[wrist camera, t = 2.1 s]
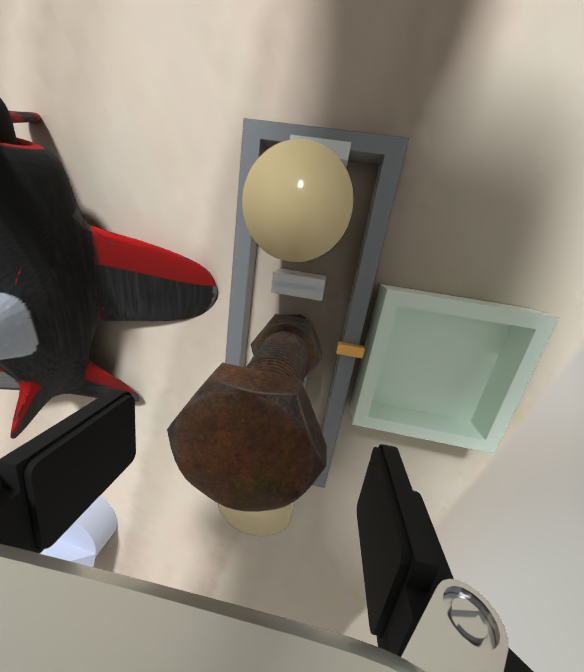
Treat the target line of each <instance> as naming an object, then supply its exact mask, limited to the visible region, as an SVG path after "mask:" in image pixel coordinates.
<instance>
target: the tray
mask: <svg viewBox="0 0 584 672" xmlns="http://www.w3.org/2000/svg"><path fill="white" fill-rule="evenodd" d="M558 319H559V317H556V316H552V315H549V314H546V313H542V312H539V311H536V310H532V309H529V308H524V307H518V306H512V305H506V304H500V303H494V302H488V301H482V300H475V299H469V298H463V297H457V296H451V295H445V294H439V293H433V292H427V291H420V290H414V289H408V288H402V287H396V286H390V285H384V284H380V285H379V289H378V293H377V297H376V301H375V305H374V309H373V313H372V317H371V321H370V325H369V329H368V333H367V337H366V341H365V345H364V347H365V351H364V355H363V359H362V358H361V361H360V365H359V369H358V373H357V377H356V381H355V385H354V389H353V393H352V397H351V401H350V411H351V419H352V425H356V426H361V427H366V428H371V429H376V430H381V431H386V432H391V433H395V434H400V435H405V436H410V437H415V438H420V439H425V440H430V441H434V442H439V443H444V444H449V445H454V446H459V447H464V448H469V449H473V450H478V451H483V452H488V453H493V454H494V453H495V451H496V449H497V447H498V445H499V443H500V440H501V438H502V436H503V434H504V432H505V430H506V428H507V426H508V424H509V422H510V419H511V417H512V415H513V413H514V411H515V409H516V407H517V405H518V403H519V401H520V399H521V396H522V394H523V392H524V390H525V388H526V386H527V384H528V382H529V380H530V378H531V376H532V373H533V371H534V369H535V367H536V365H537V363H538V361H539V359H540V357H541V355H542V352H543V350H544V348H545V346H546V344H547V342H548V340H549V338H550V336H551V334H552V332H553V329H554V327H555V325H556V323H557V321H558Z"/></svg>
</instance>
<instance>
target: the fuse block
mask: <svg viewBox="0 0 584 672" xmlns="http://www.w3.org/2000/svg"><path fill="white" fill-rule="evenodd" d="M292 139H307V140H312V141H315V142H318V143H320V144H322V145H324V146H326V147H327V148H329V149H330V150H331V151H332V152H334V153H335V154H336V155H337V156H338V157H339V159H340V160H341V161H342V163H343V164H344V166H345V168H346V167H347V163H348V160H353V161H361V162H369V163H376V164H379V168H378V173H377V177H376V182H375V186H374V191H373V195H372V200H371V205H370V209H369V214H368V218H367V223H366V228H365V232H364V237H363V241H362V246H361V251H360V255H359V260H358V264H357V269H356V273H355V278H354V283H353V287H352V292H351V296H350V301H349V306H348V310H347V315H346V319H345V324H344V329H343V333H342V338H341V342H339V341H338V344H337V349H336V354H338V356H337V361H336V365H335V370H334V374H333V379H332V384H331V388H330V393H329V397H328V402H327V407H326V411H325V416H324V420H323V425H322V429H321V432H322V434H323V437H324V439H325V442H326V444H327V459H326V467H325V469H324V470H323V471H322V473H321V474H320V475H319V477H318V478H317V479H316V481H315V482H314V483H313V484H312V485H315V486H319V487H325V483H326V479H327V475H328V471H329V467H330V462H331V458H332V454H333V450H334V446H335V442H336V438H337V433H338V429H339V425H340V421H341V417H342V413H343V409H344V405H345V400H346V396H347V392H348V388H349V384H350V380H351V376H352V371H353V367H354V363H355V359H356V357H357V358H362V359H363V355H364V351H365V347H364V346H361V345H359V343H360V338H361V334H362V330H363V326H364V322H365V318H366V314H367V309H368V305H369V301H370V297H371V293H372V289H373V285H374V281H375V276H376V272H377V268H378V264H379V260H380V256H381V252H382V247H383V243H384V239H385V235H386V231H387V227H388V223H389V219H390V214H391V210H392V206H393V202H394V198H395V194H396V190H397V185H398V181H399V177H400V173H401V169H402V165H403V161H404V157H405V152H406V148H407V144H408V140H409V138H404V137H395V136H387V135H379V134H371V133H362V132H354V131H346V130H338V129H329V128H321V127H313V126H305V125H297V124H288V123H280V122H272V121H264V120H255V119H247V118H244V120H243V134H242V147H241V160H240V173H239V187H238V200H237V213H236V227H235V240H234V253H233V266H232V280H231V293H230V306H229V320H228V333H227V346H226V359H225V363H227V364H232V365H236V366H241V367H245V361H246V351H247V341H248V332H249V322H250V312H251V302H252V292H253V282H254V272H255V262H256V252H257V243H256V242H255V240H254V239H253V237H252V236H251V234H250V232H249V230H248V228H247V226H246V223H245V220H244V215H243V208H242V195H243V188H244V185H245V181H246V178H247V176H248V173H249V171H250V170H251V168H252V166H253V165H254V163H255V162H256V160H257V159H258V158H259V157H260V156H261V155H262V154H263V153H264V152H265V151H267V149H269V148H271V147H272V146H274V145H276V144H278V143H280V142H283V141H287V140H292ZM325 282H326V276H325V275H319V274H313V273H306V272H300V271H294V270H288V269H279V270H277V271H275V272H273V280H272V288H271V292H272V293H278V294H284V295H290V296H296V297H302V298H307V299H313V300H319V301H322V298H323V293H324V287H325ZM307 378H308V375H307V376H306V377H305V378H304V383H303V386H304V388H305V390H306V384H307Z"/></svg>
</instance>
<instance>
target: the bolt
mask: <svg viewBox="0 0 584 672" xmlns="http://www.w3.org/2000/svg"><path fill="white" fill-rule="evenodd" d="M306 319H307V318H305V317H304V316H302V315H299V314H298V315H279V314H275V315H274V317H273V318H272V319H271V320H270V321H269V323H268V324H267V325H266V326H265V327H264V329H263V330H262V331H261V332H260V333H259V335H258V336H257V337H256V338H255V339H254V341H253V342H252V343H251V348H252V352H253V355H254V356H253V358H252V360H251V361H250V363H249V364H248V365H247V367H241V366H236V365H232V364H227V363H222V364H221V365H220V366H219V367H218V368H217V369H216V370H215V371H214V372H213V373H212V375H211V376H210V377H209V378H208V379H207V380H206V381H205V383H204V384H203V385H202V386H201V387H200V388H199V390H198V391H197V392H196V393H195V394H194V396H193V397H192V398H191V399H190V401H189V402H188V403H187V404H186V406H185V407H184V408H183V409H182V411H181V412H180V413H179V414H178V416H177V417H176V418H175V419H174V421H173V422H172V423H171V425H170V426H169V428H168V429H167V431H168V436H169V441H170V446H171V450H172V453H173V456H174V459H175V462H176V464H177V466H178V468H179V469H180V471H181V473H182V474H183V476H184V477H185V479H186V480H187V481H189V482H190V483H191V484H192V485H193V486H194V487H196V488H197V489H198V490H199V491H201V492H202V493H204V494H205V495H206V496H208V497H209V498H211V499H212V500H214V501H215V502H217V503H219V504H221V505H222V506H224V507H227V508H230V509H233V510H239V511H245V512H260V511H268V510H275V509H279V508H283V507H286V506H287V505H289V504H291V503H293V502H294V501H295V500H297V499H298V498H299V497H300V496H301V495H303V494H304V493H305V492H306V491H307V490H308V489H309V488H310V486H311V485H312V484H313V483H314V482H315V481H316V479H317V478H318V477H319V475H320V474H321V473H322V471H323V470H324V469H325V467H326V459H327V444H326V442H325V439H324V437H323V434H322V432H321V429H320V426H319V424H318V421H317V419H316V416H315V414H314V411H313V409H312V406H311V404H310V401H309V399H308V396H307V393H306V391H305V388H304V386H303V383H304V378H305V377H306V376H307V375H308V374H309V373H310V372H311V371H312V370H313V369H314V368H315V367H316V365H317V364H318V363H319V362H320V360H321V359H322V350H321V347H320V344H319V341H318V338H317V335H316V333H315V330H314V327H313V325H312V323H311V321H309V320H306Z"/></svg>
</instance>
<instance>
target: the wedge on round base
mask: <svg viewBox="0 0 584 672" xmlns="http://www.w3.org/2000/svg"><path fill="white" fill-rule="evenodd" d="M116 528H117V517H116V514H115V512H114V510H113V508H112V507H111V505H110V504H109V503H108V502H107V501H106V500H105V499H104V498H103V497H102V496H101V495H100V496H99V497H98V498H97V499H96V500H95V501H94V502H93V504H92V505H91V506H90V507H89V508H88V509H87V510H86V511H85V512H84V513H83V514H82V515H81V516H80V517H79V518H78V519H77V520H76V521H75V522H74V523H73V525H72V526H71V527H70V528H69V529H68V530H67V531H66V532H65V533H64V534H63V535H62V536H61V537H60V538H59V539H58V540H57V541H56V542H55V543H54V544H53V545H52V546H51V547H49V548H47V549H44V550H43V551H42V552H41V553H40V554H43V555H47V556H51V557H55V558H59V559H63V560H67V561H71V562H75V563H79V564H82V565H86V566H90V567H94V561H95V557H96V556H97V555H98V553H99V552H100V551H101V549H102V548H103V547H104V545H105V544H106V543H107V541H108V540H109V539H110V537H111V536H112V535H113V533H114V532H115V530H116Z"/></svg>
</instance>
